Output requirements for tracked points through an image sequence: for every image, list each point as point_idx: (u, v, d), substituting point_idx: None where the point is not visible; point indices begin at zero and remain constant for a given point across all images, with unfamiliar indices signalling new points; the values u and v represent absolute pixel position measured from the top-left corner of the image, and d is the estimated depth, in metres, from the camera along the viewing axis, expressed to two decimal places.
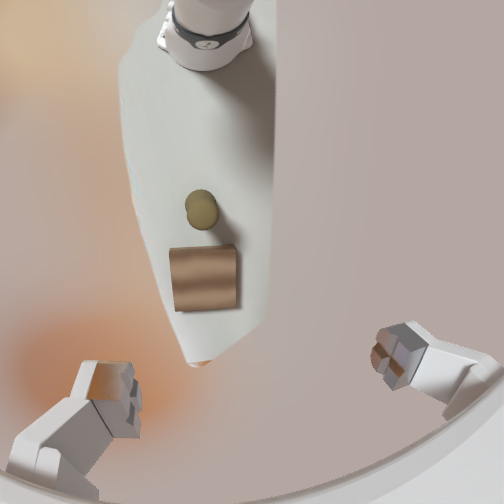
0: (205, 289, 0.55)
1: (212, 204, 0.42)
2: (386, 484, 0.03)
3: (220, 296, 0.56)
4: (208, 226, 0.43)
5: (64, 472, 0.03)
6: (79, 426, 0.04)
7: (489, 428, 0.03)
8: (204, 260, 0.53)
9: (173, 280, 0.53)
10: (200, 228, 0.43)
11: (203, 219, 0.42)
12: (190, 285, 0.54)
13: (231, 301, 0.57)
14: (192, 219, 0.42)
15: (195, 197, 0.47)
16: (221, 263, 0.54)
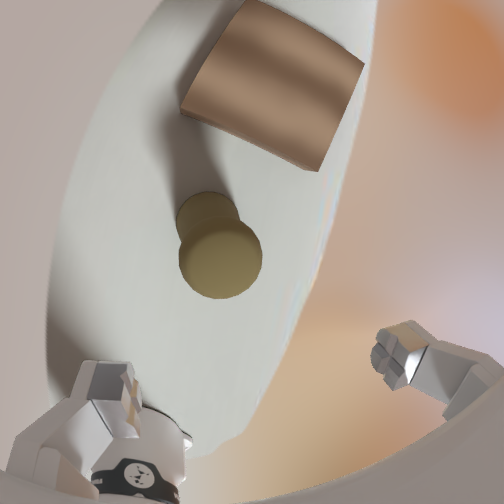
0: (289, 59, 0.19)
1: (188, 281, 0.16)
2: (386, 484, 0.03)
3: (269, 30, 0.18)
4: (222, 237, 0.15)
5: (64, 472, 0.03)
6: (79, 426, 0.04)
7: (489, 428, 0.03)
8: (259, 117, 0.20)
9: (338, 116, 0.22)
10: (244, 237, 0.15)
11: (227, 261, 0.15)
12: (314, 85, 0.20)
13: (251, 11, 0.17)
14: (253, 270, 0.16)
15: None
16: (228, 91, 0.19)
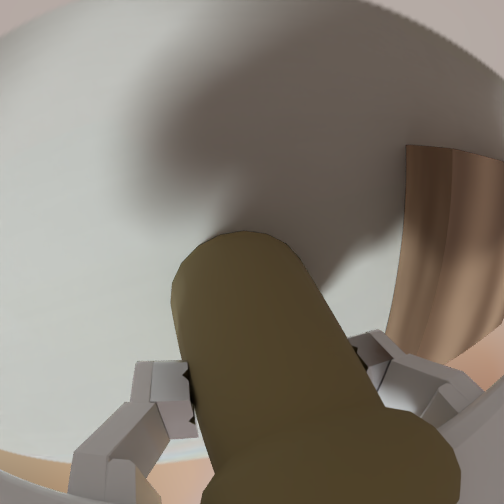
0: (503, 260, 0.12)
1: None
2: None
3: None
4: None
5: (139, 483, 0.03)
6: (144, 431, 0.05)
7: (489, 428, 0.03)
8: (458, 279, 0.11)
9: (461, 350, 0.14)
10: None
11: None
12: (486, 305, 0.13)
13: None
14: None
15: None
16: (478, 215, 0.10)
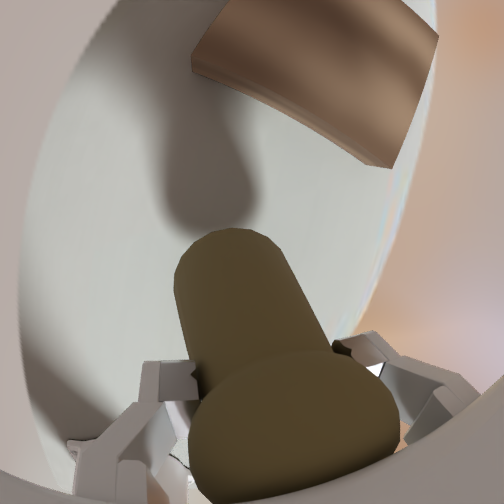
0: (353, 10, 0.10)
1: (220, 476, 0.04)
2: (386, 484, 0.03)
3: None
4: (388, 453, 0.04)
5: (149, 484, 0.03)
6: (152, 431, 0.05)
7: (489, 428, 0.03)
8: (314, 79, 0.12)
9: (416, 95, 0.13)
10: None
11: None
12: (386, 49, 0.12)
13: None
14: None
15: None
16: (267, 37, 0.11)
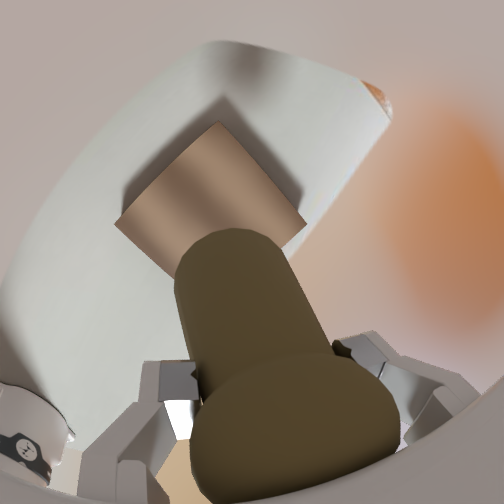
0: (225, 207, 0.24)
1: (222, 478, 0.04)
2: (386, 484, 0.03)
3: (219, 169, 0.23)
4: None
5: (150, 484, 0.03)
6: (153, 431, 0.05)
7: (489, 428, 0.03)
8: (175, 255, 0.25)
9: None
10: None
11: None
12: None
13: (212, 141, 0.22)
14: None
15: None
16: (156, 224, 0.23)
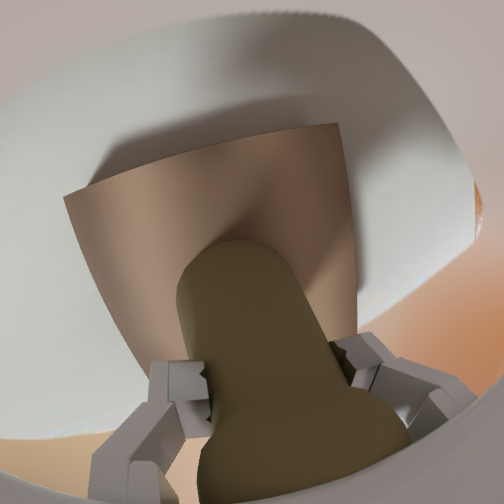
0: None
1: None
2: (386, 484, 0.03)
3: (296, 202, 0.12)
4: None
5: (161, 484, 0.03)
6: (162, 431, 0.05)
7: (489, 428, 0.03)
8: (143, 307, 0.12)
9: None
10: None
11: None
12: None
13: (311, 148, 0.12)
14: None
15: None
16: (136, 239, 0.11)
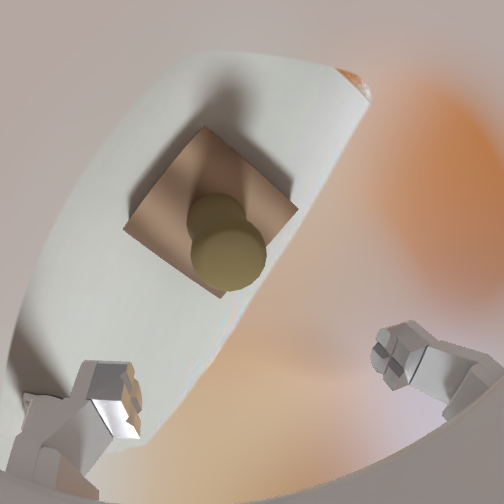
0: None
1: (195, 261, 0.17)
2: (386, 484, 0.03)
3: (210, 169, 0.25)
4: (243, 236, 0.17)
5: (64, 472, 0.03)
6: (79, 426, 0.04)
7: (489, 428, 0.03)
8: (181, 251, 0.27)
9: None
10: (259, 245, 0.18)
11: (237, 258, 0.17)
12: None
13: (201, 144, 0.24)
14: (253, 275, 0.18)
15: None
16: (160, 224, 0.26)
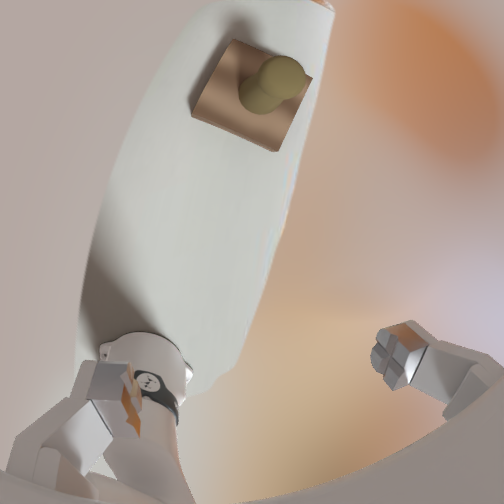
0: None
1: (264, 78, 0.23)
2: (386, 484, 0.03)
3: (246, 62, 0.31)
4: (288, 59, 0.23)
5: (64, 472, 0.03)
6: (79, 426, 0.04)
7: (489, 428, 0.03)
8: (239, 118, 0.34)
9: (292, 115, 0.35)
10: (299, 64, 0.23)
11: (289, 70, 0.23)
12: None
13: (234, 49, 0.30)
14: (301, 80, 0.24)
15: (267, 104, 0.29)
16: (220, 103, 0.32)
